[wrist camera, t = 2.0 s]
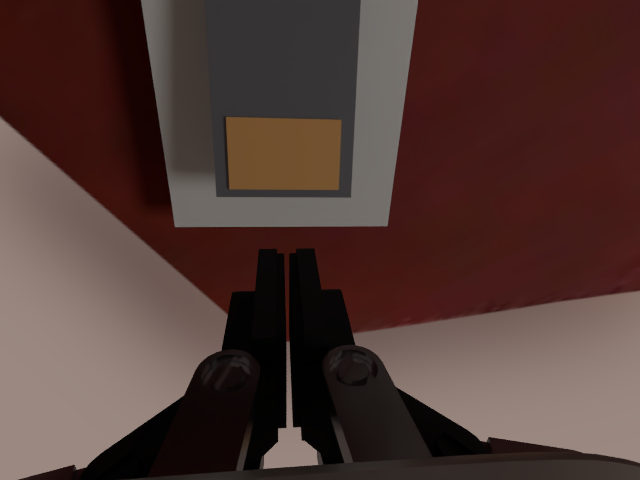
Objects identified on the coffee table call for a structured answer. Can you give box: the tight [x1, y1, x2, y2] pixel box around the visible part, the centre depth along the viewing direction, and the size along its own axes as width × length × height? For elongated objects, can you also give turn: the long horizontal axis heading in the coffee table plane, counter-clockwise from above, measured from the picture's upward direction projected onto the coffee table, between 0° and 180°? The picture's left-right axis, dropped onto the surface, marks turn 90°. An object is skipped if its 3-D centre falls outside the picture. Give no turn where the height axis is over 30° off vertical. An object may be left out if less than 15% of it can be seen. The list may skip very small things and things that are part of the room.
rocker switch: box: [205, 0, 361, 198], centre depth 21 cm, size 14×8×2 cm, turn 177°
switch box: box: [141, 0, 418, 227], centre depth 25 cm, size 22×16×6 cm
